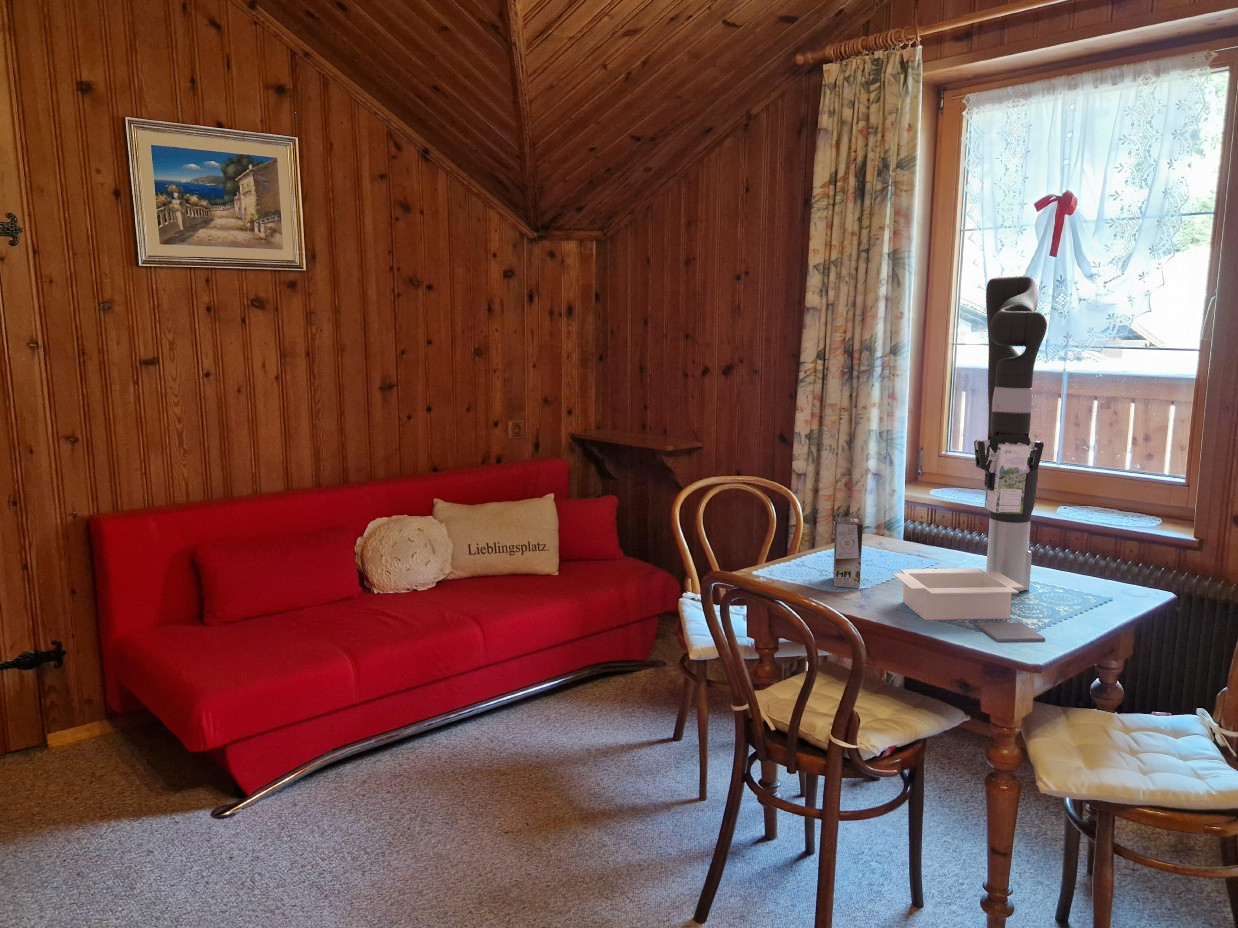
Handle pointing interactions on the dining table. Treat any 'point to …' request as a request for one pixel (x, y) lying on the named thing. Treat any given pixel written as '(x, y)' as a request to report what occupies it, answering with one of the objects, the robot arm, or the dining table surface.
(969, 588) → the carton
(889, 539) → the dining table surface
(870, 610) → the dining table surface
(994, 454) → the syrup box
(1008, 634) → the coaster
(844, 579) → the coffee box
